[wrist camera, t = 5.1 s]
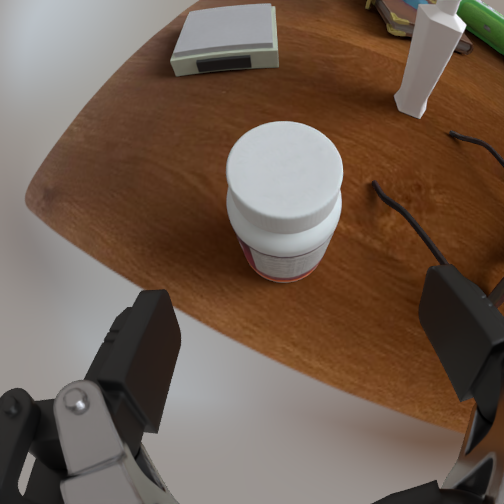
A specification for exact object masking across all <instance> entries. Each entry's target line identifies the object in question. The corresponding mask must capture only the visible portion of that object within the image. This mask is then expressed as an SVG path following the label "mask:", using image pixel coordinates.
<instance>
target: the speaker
mask: <svg viewBox="0 0 504 504" xmlns="http://www.w3.org/2000/svg"><path fill="white" fill-rule="evenodd" d="M456 14H457V15H458V16H459V17H460V19H461V20H462V21H463V22H464V23H465V24H466V29H467V30H468V31H470V32H471V33H473V34H474V35H476V36H477V37H478V38H480V39H481V40H483V41H484V42H486V43H487V44H488V45H490V46H491V47H492V48H494V49H495V50H496V51H498V52H499V53H501V54H503V55H504V16H503V15H501V14H500V13H498V12H497V11H496V10H494V9H493V8H491V7H490V6H488V5H487V4H485V3H483V2H482V1H480V0H462V1H460V4H459V7H458V10H457V13H456Z"/></svg>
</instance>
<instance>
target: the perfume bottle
mask: <svg viewBox="0 0 504 504" xmlns="http://www.w3.org/2000/svg"><path fill="white" fill-rule="evenodd" d="M460 1H462V0H437V2H436V4H418V10H417V16H416V21H415V27H414V32H413V37H412V41H411V46H410V51H409V55H408V60H407V64H406V68H405V72H404V76H403V80H402V84H401V88H400V89H399V90H398V91H397V93H396V94H395V95H394V98H395V101H396V104H397V107H398V110H399V111H400V112H403V113H405V114H408V115H411V116H413V117H416V118H418V119H420V118H421V116H422V115H423V113H424V111H425V109H426V104H427V99H428V97H429V95H430V93H431V92H432V90H433V88H434V86H435V85H436V83H437V81H438V79H439V77H440V76H441V74H442V72H443V70H444V68H445V66H446V65H447V63H448V61H449V59H450V57H451V55H452V53H453V51H454V49H455V48H456V46H457V44H458V42H459V40H460V38H461V36H462V34H463V32H464V30H465V28H466V24H465V23H464V22H463V21H462V20H461V19H460V17H459V16H458V15H457V14H456V13H457V10H458V7H459V4H460Z"/></svg>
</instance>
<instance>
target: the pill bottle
mask: <svg viewBox="0 0 504 504" xmlns="http://www.w3.org/2000/svg"><path fill="white" fill-rule="evenodd" d="M226 177H227V182H228V185H229V188H228V193H227V211H228V215H229V219H230V223H231V225H232V227H233V229H234V231H235V233H236V235H237V238H238V240H239V242H240V245H241V247H242V249H243V252H244V255H245V257H246V259H247V261H248V263H249V264H250V266H251V267H252V268H253V269H254V270H255V271H256V272H257V273H258V274H259V275H261V276H262V277H264V278H266V279H268V280H271V281H275V282H281V283H287V282H294V281H297V280H300V279H302V278H304V277H306V276H307V275H309V274H310V273H311V272H312V271H313V270H314V269H315V268H316V267H317V266H318V264H319V262H320V261H321V259H322V257H323V255H324V253H325V250H326V248H327V246H328V244H329V242H330V239H331V237H332V235H333V233H334V230H335V228H336V226H337V223H338V221H339V217H340V213H341V206H342V199H341V192H340V187H341V183H342V179H343V165H342V161H341V157H340V155H339V153H338V151H337V149H336V147H335V146H334V145H333V143H332V142H331V141H330V140H329V139H328V138H327V137H326V136H325V135H323V134H322V133H321V132H319V131H318V130H316V129H314V128H312V127H310V126H307V125H304V124H301V123H296V122H288V121H278V122H271V123H267V124H263V125H260V126H258V127H256V128H254V129H252V130H250V131H248V132H247V133H245V134H244V135H243V136H242V137H241V138H240V139H239V140H238V141H237V142H236V143H235V145H234V146H233V148H232V149H231V151H230V153H229V156H228V159H227V165H226Z"/></svg>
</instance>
